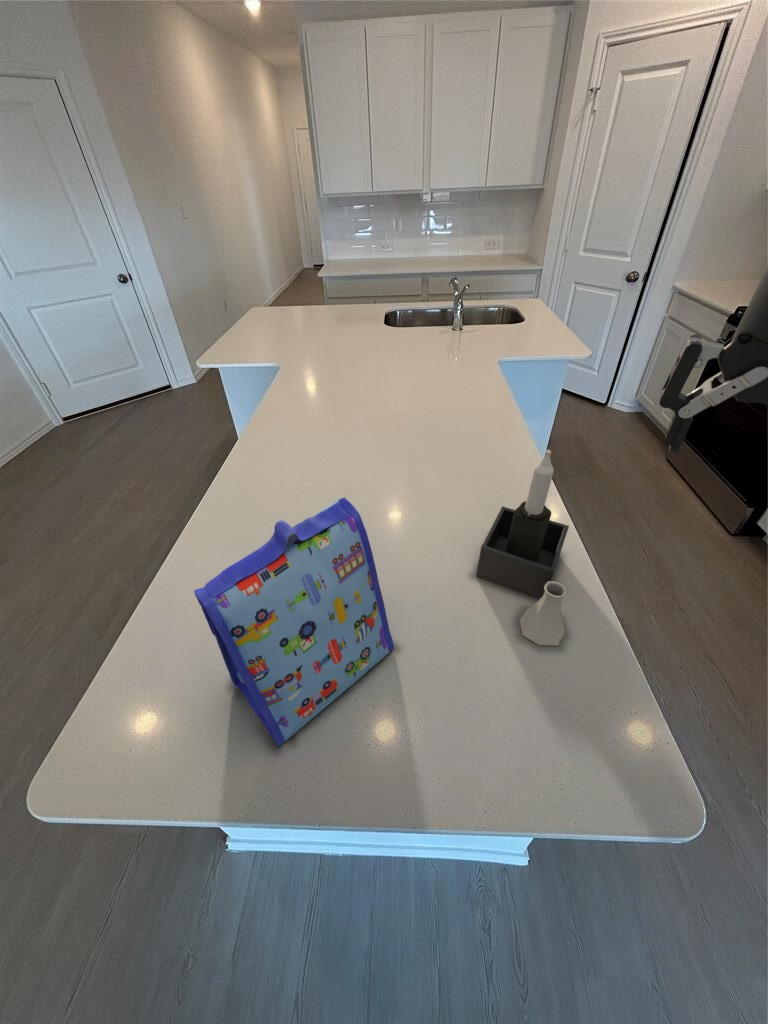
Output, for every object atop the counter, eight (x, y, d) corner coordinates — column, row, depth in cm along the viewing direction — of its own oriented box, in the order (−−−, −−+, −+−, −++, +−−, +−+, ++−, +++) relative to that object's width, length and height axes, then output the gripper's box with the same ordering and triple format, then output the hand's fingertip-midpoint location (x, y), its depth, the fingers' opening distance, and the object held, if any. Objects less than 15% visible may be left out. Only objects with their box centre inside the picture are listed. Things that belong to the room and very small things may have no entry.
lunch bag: (342, 602, 77) (324, 467, 59) (396, 652, 70) (395, 515, 51) (231, 683, 66) (164, 549, 48) (280, 753, 59) (224, 625, 40)
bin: (558, 555, 85) (569, 525, 80) (544, 601, 76) (554, 571, 71) (496, 535, 89) (502, 506, 84) (475, 576, 81) (481, 547, 76)
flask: (565, 617, 74) (581, 577, 67) (562, 653, 69) (580, 614, 62) (521, 605, 76) (533, 566, 69) (515, 639, 71) (527, 600, 64)
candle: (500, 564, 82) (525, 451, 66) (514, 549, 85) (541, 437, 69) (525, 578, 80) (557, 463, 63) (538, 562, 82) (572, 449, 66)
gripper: (717, 272, 31) (637, 460, 42) (995, 293, 26) (824, 503, 37) (715, 252, 36) (644, 425, 47) (947, 266, 31) (809, 458, 42)
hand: (723, 459), depth 42 cm, fingers open, 8 cm apart
